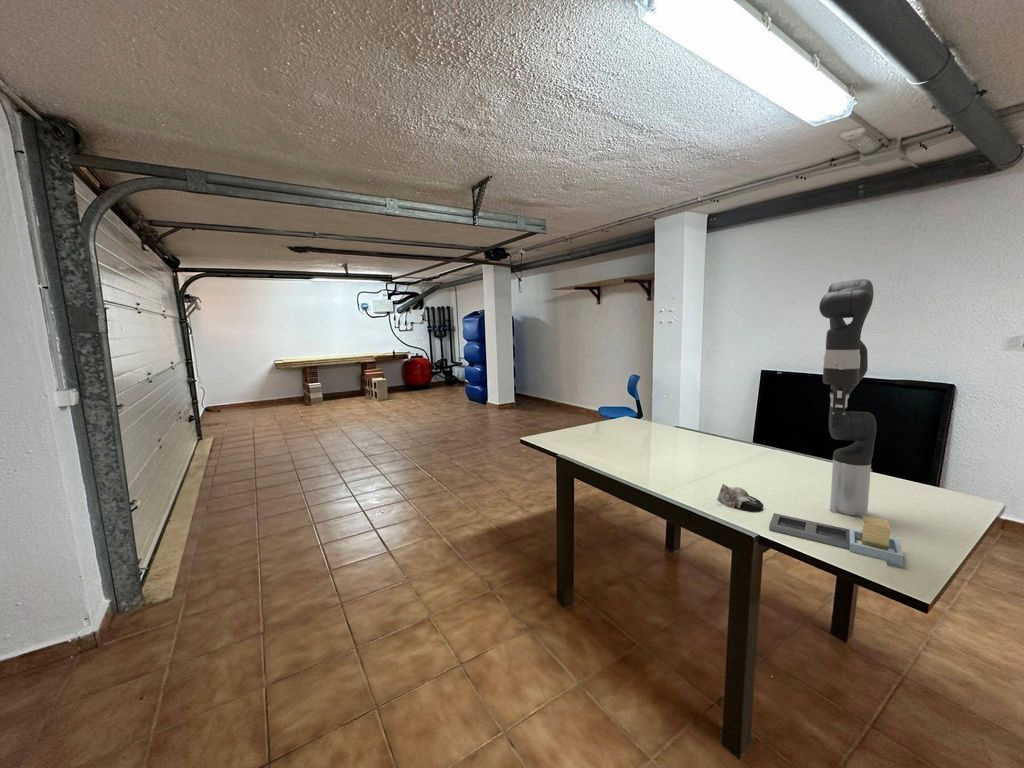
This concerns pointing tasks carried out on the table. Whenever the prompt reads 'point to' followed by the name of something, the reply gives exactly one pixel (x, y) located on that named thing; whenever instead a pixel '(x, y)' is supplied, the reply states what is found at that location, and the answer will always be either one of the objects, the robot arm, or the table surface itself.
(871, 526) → the tan wooden block
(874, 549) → the parts tray
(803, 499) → the table surface
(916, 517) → the table surface
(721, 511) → the table surface
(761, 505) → the camo sneaker
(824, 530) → the grey slotted tray
